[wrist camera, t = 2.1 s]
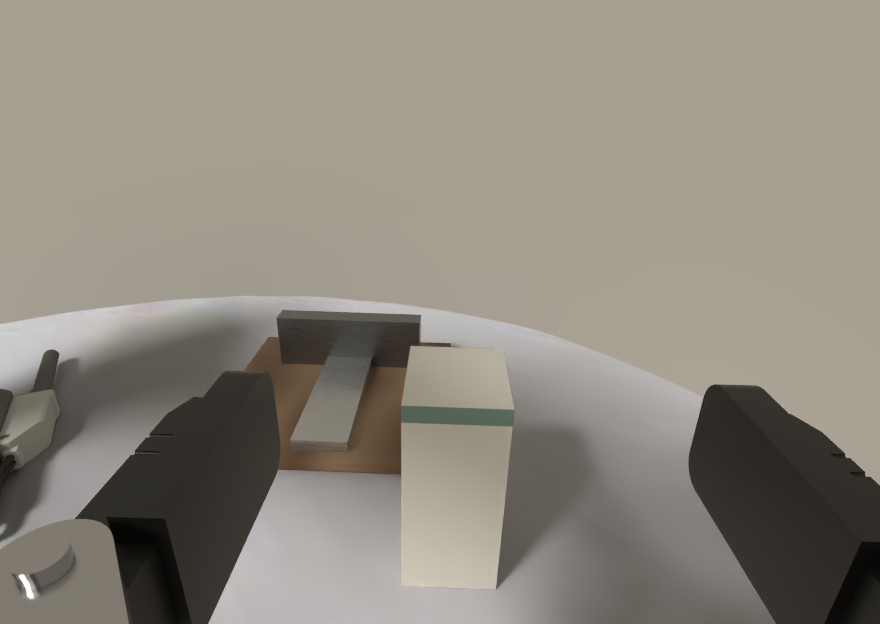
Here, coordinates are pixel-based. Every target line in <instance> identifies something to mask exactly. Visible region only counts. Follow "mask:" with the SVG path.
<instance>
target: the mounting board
mask: <svg viewBox="0 0 880 624" xmlns="http://www.w3.org/2000/svg"><path fill="white" fill-rule="evenodd" d="M420 346H428V347H451V344H450V343H421V342H420ZM323 366H324V365H310V364H282V362H281V353H280V344H279V337H269V338H268V339H267V340H266V342H265V343H264V344H263V346H262V347H261V349H260V350H259V351H258V353H257V354H256V356H255V357H254V358H253V360H252V361H251V362H250V364H249V365H248V367H247V368H246V369H245V371H244V372H267V373H269V374H270V376H271V378H272V382H273V388H274V396H275V404H276V411H277V419H278V427H279V435H280V445H281V450H280V461H279V466H278V469H289V470H316V471H343V472H370V473H397V474H401V403H402V397H403V391H404V384H405V378H406V372H407V368H394V367H372V369H371V373H370V376H369V380H368V383H367V387H366V390H365V394H364V397H363V401H362V405H361V408H360V412H359V415H358V419H357V422H356V426H355V429H354V433H353V436H352V440H351V444H350V447H349V451H348V453H344V452H317V451H291V446H290V438H291V436H292V434H293V432H294V430H295V427H296V425H297V423H298V421H299V419H300V416H301V414H302V412H303V410H304V408H305V405H306V403H307V401H308V399H309V397H310V395H311V392H312V390H313V388H314V386H315V384H316V381H317V379H318V377H319V375H320V373H321V370H322V368H323Z"/></svg>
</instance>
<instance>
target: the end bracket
mask: <svg viewBox="0 0 880 624" xmlns="http://www.w3.org/2000/svg"><path fill="white" fill-rule="evenodd" d="M277 325H278V334H279V344H280V353H281V362H282V364H310V365H324V364H325V362H326V359H327V357H328V356H332V357H360V358H372V367H394V368H407V365H408V359H409V353H410V346H420V335H421V315H407V314H378V313H349V312H320V311H291V310H282V312H281V313H280V314H279V316H278V317H277Z"/></svg>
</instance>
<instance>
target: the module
mask: <svg viewBox="0 0 880 624" xmlns="http://www.w3.org/2000/svg"><path fill="white" fill-rule="evenodd" d="M513 419H514V404H513V399H512V394H511V389H510V384H509V378H508V373H507V368H506V363H505V358H504V352H503V349H485V348H457V347H428V346H410V353H409V359H408V365H407V372H406V378H405V384H404V391H403V397H402V403H401V561H402V586H418V587H444V588H469V589H495V590H496V584H497V574H498V564H499V555H500V545H501V535H502V526H503V516H504V506H505V497H506V487H507V477H508V468H509V458H510V448H511V439H512V429H513Z"/></svg>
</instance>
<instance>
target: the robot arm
mask: <svg viewBox="0 0 880 624" xmlns="http://www.w3.org/2000/svg"><path fill="white" fill-rule="evenodd" d="M280 450H281V445H280V435H279V427H278V419H277V411H276V404H275V396H274V388H273V382H272V378H271V376H270V374H269V373H267V372H241V371H226V372H224V373H223V374H222V375H221V376H220V377H219V378H218V380H217V381H216V382H215V383H214V385H213V386H212V387H211V388H210V389H209V391H208V392H207V393H206V394H205V396H204V397H203V398H198V397H193V398H192V399H190V400H189V401H187V402H185V403H184V404H182V405H181V406H179V407H177V408H176V409H174V410H173V411H171V412H169V413H168V414H167V415H166V416H165V417H164V418H163V419H162V420H161V422H160V423H159V424H158V425H157V426H156V427H155V428H154V430H153V431H152V432H151V433H150V437H149V438H146V439H145V440H144V441H143V442H142V443H141V444H140V445H139V447H138V448H137V449H136V450H135V454H134V455H131V456H130V457H129V458H128V459H127V460H126V461H125V462H124V464H123V465H122V466H121V467H120V468H119V469H118V470H117V472H116V473H115V474H114V475H113V476H112V477H111V478H110V480H109V481H108V482H107V483H106V484H105V485H104V486H103V487H102V489H101V490H100V491H99V492H98V493H97V494H96V495H95V497H94V498H93V499H92V500H91V501H90V502H89V503H88V505H87V506H86V507H85V508H84V509H83V510H82V511H81V512H80V514H79V515H78V516H77V517H76V518H75V519H73V520H65V521H61V522H56V523H53V524H49V525H46V526H43V527H41V528H38V529H36V530H33V531H31V532H29V533H27V534H25V535H23V536H21V537H19V538H17V539H16V540H14V541H12V542H11V543H9V544H8V545H6V546H5V547H3V548H2V549H1V550H0V624H208V623H209V620H210V618H211V616H212V614H213V612H214V610H215V607H216V605H217V603H218V601H219V599H220V596H221V594H222V592H223V590H224V588H225V586H226V583H227V581H228V579H229V577H230V575H231V572H232V570H233V568H234V566H235V564H236V561H237V559H238V557H239V555H240V553H241V551H242V548H243V546H244V544H245V542H246V540H247V537H248V535H249V533H250V531H251V529H252V526H253V524H254V522H255V520H256V518H257V516H258V513H259V511H260V509H261V507H262V505H263V502H264V500H265V498H266V496H267V494H268V492H269V489H270V487H271V485H272V483H273V481H274V478H275V476H276V473H277V470H278V466H279V461H280ZM689 473H690V478H691V481H692V484H693V487H694V489H695V491H696V492H697V494H698V496H699V497H700V499H701V501H702V502H703V504H704V506H705V507H706V509H707V510H708V512H709V514H710V515H711V517H712V519H713V520H714V522H715V524H716V525H717V527H718V529H719V530H720V532H721V534H722V535H723V537H724V538H725V540H726V542H727V543H728V545H729V547H730V548H731V550H732V552H733V553H734V555H735V557H736V558H737V560H738V561H739V563H740V565H741V566H742V568H743V570H744V571H745V573H746V575H747V576H748V578H749V580H750V581H751V583H752V585H753V586H754V588H755V589H756V591H757V593H758V594H759V596H760V598H761V599H762V601H763V603H764V604H765V606H766V608H767V609H768V611H769V613H770V614H771V616H772V617H773V619H774V621H775V622H776V624H880V486H879V485H878V484H877V483H876V482H875V481H874V480H873V479H872V478H871V477H866V476H865V472H864V471H863V470H862V469H861V468H860V467H859V466H858V465H857V464H856V463H855V462H854V461H852V460H851V459H850V458H846V457H845V453H844V452H843V451H842V450H841V449H839V448H838V447H837V446H836V445H835V444H834V443H833V442H832V441H831V440H830V439H829V438H828V437H827V436H825V435H824V434H823V433H822V432H821V431H819V430H817V429H815V428H813V427H812V426H810V425H808V424H807V423H805V422H803V421H802V420H800V419H798V418H797V417H795V416H793V415H791V414H788V413H787V412H786V411H785V410H784V409H783V408H782V407H781V406H780V405H779V404H778V403H777V402H776V401H775V400H774V399H773V398H772V397H771V396H770V395H769V394H768V393H767V392H766V391H765V390H763V389H762V388H761V387H759V386H750V385H712V386H710V387H709V388H708V390H707V391H706V393H705V395H704V398H703V402H702V406H701V410H700V414H699V418H698V422H697V426H696V430H695V434H694V437H693V441H692V445H691V449H690V453H689Z"/></svg>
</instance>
